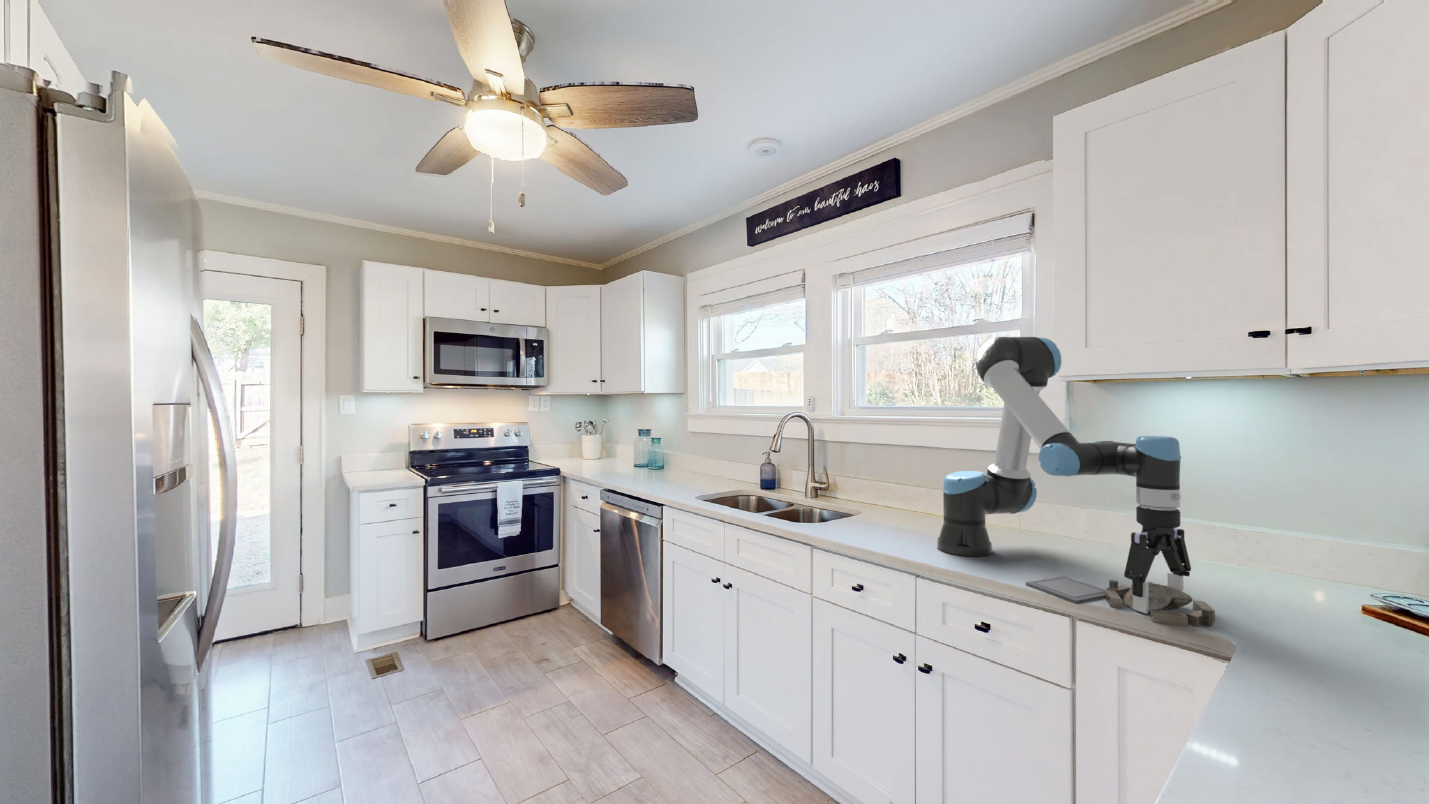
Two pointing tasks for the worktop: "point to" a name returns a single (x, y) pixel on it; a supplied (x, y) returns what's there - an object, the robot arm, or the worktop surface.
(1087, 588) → the mat
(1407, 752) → the worktop surface
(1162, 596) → the fossilized seashell
